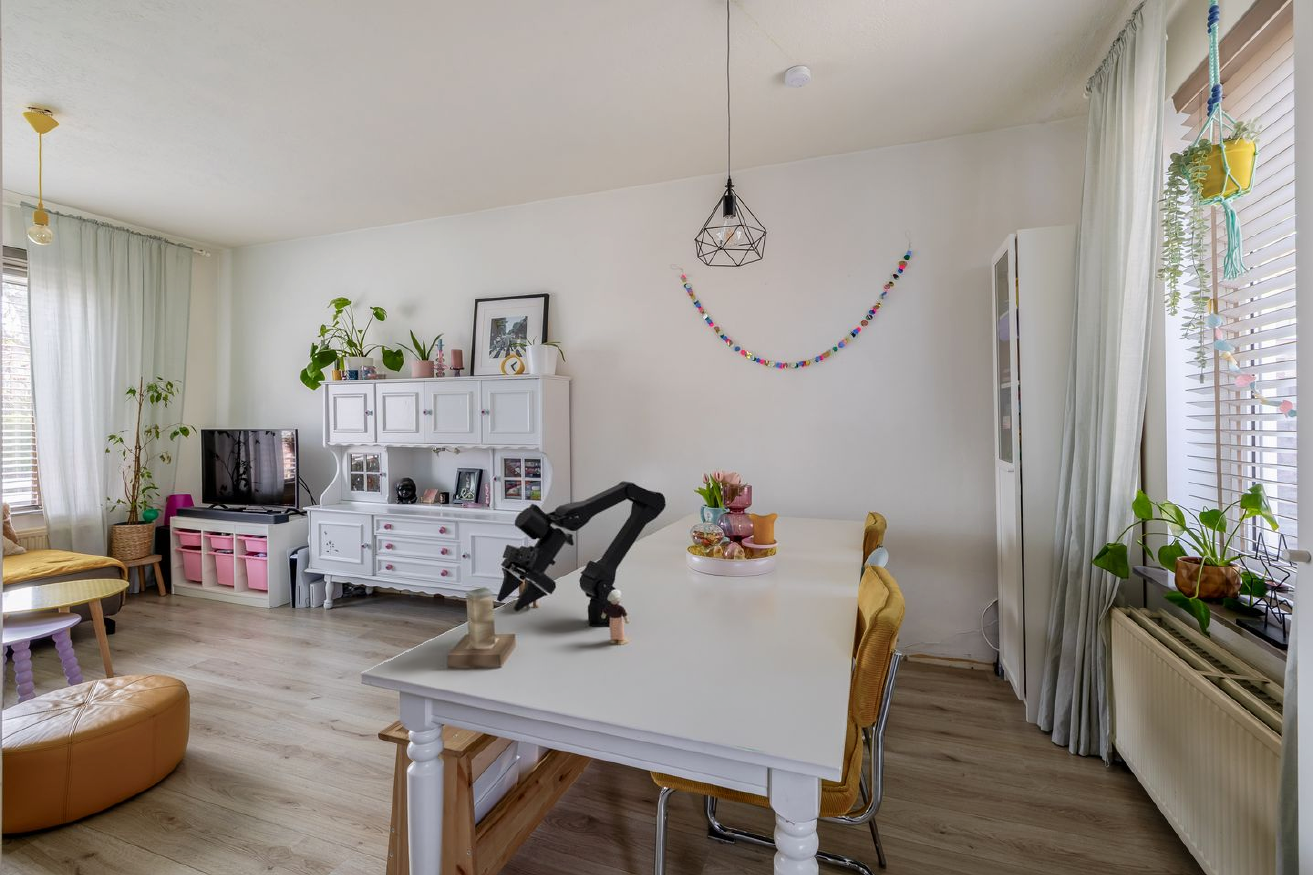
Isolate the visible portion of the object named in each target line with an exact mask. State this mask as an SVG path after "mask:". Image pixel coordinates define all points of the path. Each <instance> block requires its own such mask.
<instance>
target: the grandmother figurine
mask: <svg viewBox="0 0 1313 875" xmlns="http://www.w3.org/2000/svg"><path fill="white" fill-rule="evenodd" d="M607 599H608V601H610V602H611V603H612V604H610V605H608V606H606V607H605V608H604V609H603V613H602V616H601V617H602V618H605V617H606V614H610V626H609V634H610V640H609V644H616V643H618V645H619V646H620V645H621V646H622V645H625V644H628V643H629V640H628V639H627V638H626V637H625V631H624V630H625V629H624V628H625V627H624V623H625V624H630V620H629V617H628V613H627V611H626V609H625V607H623V606H622V605H620V603H621V602H622V601H621V600H622V592H621V590H619V589H617V588H616V589H615V590H612V591H611V592H610V593H609V595H608V598H607ZM617 641H618V642H617ZM615 642H616V643H615Z"/></svg>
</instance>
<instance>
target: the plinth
mask: <svg viewBox="0 0 1313 875" xmlns="http://www.w3.org/2000/svg"><path fill="white" fill-rule="evenodd" d="M516 644H517V643H516V633H495V644H492V645H489V646H485V647H481V648H478V649H476V648H475V647H474V646H472V645H471V644H470V643H469V633H468V634H465V635H464V636H463V637H461V639H460V640H459V641H458V643H456V645H454V646H453V648H452V649H451V650H450V651H448V654H446V662H447V669H502V667H503V665H504V664H505V663H506V661H507V660H508V658H509V657H510V656H511V654H512V653H513V651H514V650H515V648H516ZM504 662H505V663H504Z"/></svg>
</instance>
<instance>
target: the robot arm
mask: <svg viewBox="0 0 1313 875" xmlns="http://www.w3.org/2000/svg"><path fill="white" fill-rule="evenodd" d="M626 500H627V501H629V502H632V503H631V509H630V515H629V516H628V518H627V520H626V521H625V522H624V524H623V526H622V527H621V529H620V530H619V531H618V533H617V535H616V536H615V537H614V538H613V540H612V542H611V543H610V545H609V546H608V548H607V549H606V551H605V552H604V554H603V556H601V557H600V558H599V560H598V559H597V561H593V560H589V561H588V562H587V564H586V566H585V568H584V569H583V570H581V572H580V574H581V575H580V577H579V586H580V589H581V590H582V591H583V592H584V594H585V596H586V597H587V598H589V603H588V605H587V617H588V619H587V621H588V622H589V623H588V625H589V627H610V614H606V617H605V618H602V617H601V616H602V613H603V609H604V608H605V607H606V606H608V605H610V604H612V603H611V602H610V601H608V599H607V598H608V595H609V593H610V592H611V591H612V590H615V589H617V588H616V587H615V586H613V585H614V583H615V582H616V574H617V569H618V568H619V566H620V564H621V563H622V562H623V560H624V559H625V557H626V555H627V554H628V552H629V550H631V548H632V546H633V545H634V543H635V542H636V540H637V539H638V537H639V536H640V534H641V533H642V531H643V530H644V529H645V526H646V525H648V524H649V523H651V522H652V521H653V520H656V519H657V518H658V517H659V516H660V514H661V513H663V511H664V510H665V509H666V507H667V506H666V505H667V503H666V498H665V495H664V494H663V493H661V492H659V491H653V490H649V489H646V488H644V487H641V486H639V485H637V484H636V483H634V482H630V481H624V480H623V481H620V482H619V483H618V484H616V485H614V486H612V487H610V488H608V489H605V490H604V491H602V492H599V493H596V494H595V495H593V496H591V497H588V498H586V499H584V500H581V501H573V502H569V503H565V504H562V505H559V506H558V507H556V508H555V510H553V511H550V512H548V513H545V512H544V511H543V510H542V509H541V508H540V507H539V506H538V505H537V504H535V503H531V504H530V505H529V507H526V508H524V509H523V510H522V511H521V512H520V513H518V515H517V516H516V518H515V520H514V526H515V527H516V528H517V529H518V530H520V531H521V532H522V533H524V534H525V535H526V536H527V537H528V538H530V539H531V540H536V539H538V540H537V542H536V543H535V544H534V546H533V545H529V546H524V545H521V546H519V547H518V546H517V547H516V546H513V545H510V544H506V546H505V549H504V552H503V555H502V558H503V561H502V562H501V571H502V573H503V580H502V583H501V586H500V589H499V592H498V595H497V598H496V601H498V602H499V603H501V602H502V601H504V600H505V599H506V598H507V597H508V596H510V595H511V594H513V592H514V591H515V590H517V589H519V586H520V585H521V584H522V583H523V582H522V580H525V588H524V590H523V592H522V594H521V595H520V597H519V598H518V599H517V600H516V603H515V604H514V606H513V608H512V609H513V611H514V612H519V611H521V610H522V609H524V608H526V606H527V605H529V606H530V605H531V604H533V602H534V601H536V600H537V601H538V600H539V599H541V598H543V597H544V596H545V597H546V596H548V594H549V595H552V594H553V593H554V591H555V590H556V588H557V587H556V586H557V585H556V584H557V583H556V581H555V580H553V579H552V578H551V577H550V576H548V575H547V574H546V571H547V570H548V568H549V567H550V566H554V565H555V564H556V563H557V562H556V561H555V558H556V556H557V555H558V553H560V551H561V550H562V548H563V547H564V545H569V546H574V539H573V537H574V536H573V534H572V533H568V532H566V533H565V531H563V530H562V529H564V530H567V531H571V532H576V531H578V530H580V529H581V528H583V527H584V526H586V525H587V524H589V522H590V521H591V519H592V518H593V517H595V516H596V515H598V514H600V513H602V512H604V511H606V510H608V509H610V508H612V507H614V506H616V505H618V504H620V503H622V502H624V501H626ZM552 525H554V526H557V527H556V528H555V527H553V526H552ZM529 580H532V581H529ZM537 601H536V602H537Z"/></svg>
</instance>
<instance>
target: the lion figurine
mask: <svg viewBox="0 0 1313 875" xmlns="http://www.w3.org/2000/svg"><path fill="white" fill-rule="evenodd" d="M528 580H529V581H532V580H530V579H528ZM521 581H522V582H523V583H522V584H521V585H520V586H519V587H518V594H519V595H518V596H516V598H518V599H519V597H520V595H521V594H522V592H523V590H524V588H525V579H524V580H521ZM537 601H538V600H536V601H534V602H532V607H533V608H534V609H537V608H539V605H537ZM530 610H531V606H530V604H529V605H527V606H526V607H525V611H526V612H527V611H528V612H529V611H530Z"/></svg>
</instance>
